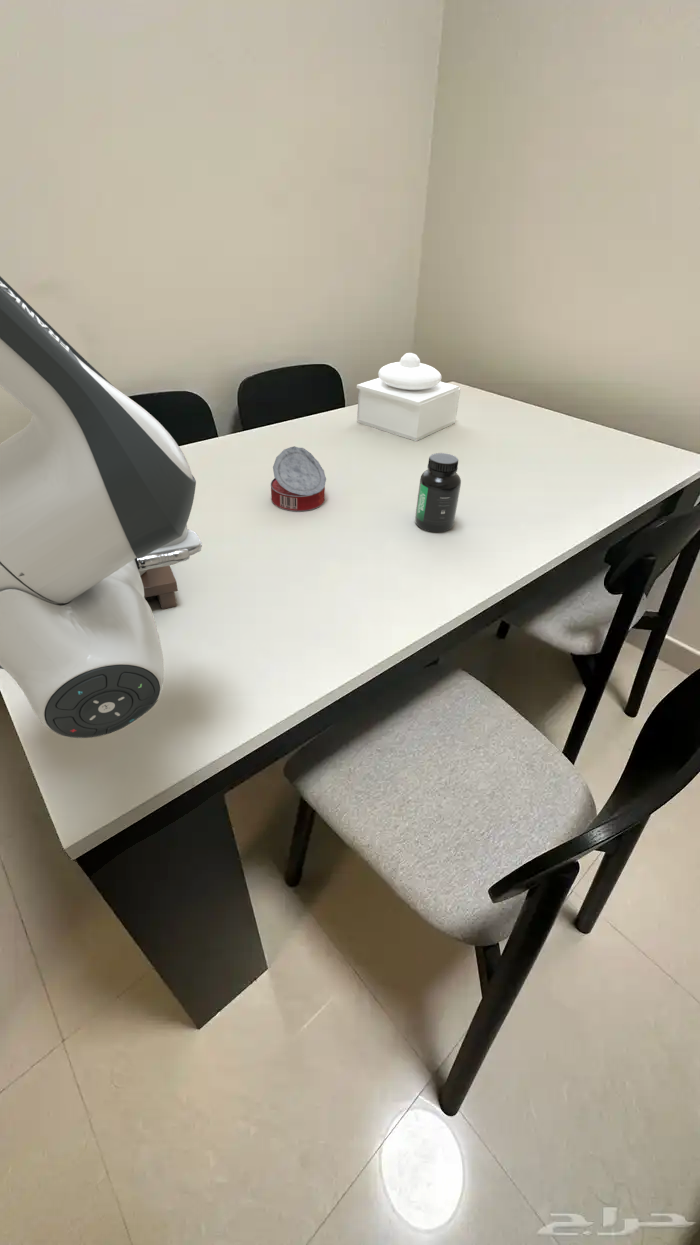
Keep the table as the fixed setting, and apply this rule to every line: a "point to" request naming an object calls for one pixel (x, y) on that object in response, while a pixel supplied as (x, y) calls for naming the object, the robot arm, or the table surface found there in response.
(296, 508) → the canned food
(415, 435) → the white lidded box
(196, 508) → the table surface
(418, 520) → the supplement bottle
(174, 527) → the robot arm
